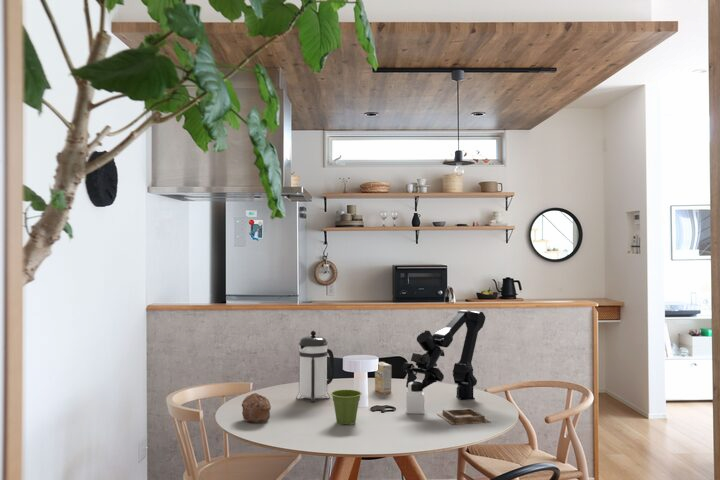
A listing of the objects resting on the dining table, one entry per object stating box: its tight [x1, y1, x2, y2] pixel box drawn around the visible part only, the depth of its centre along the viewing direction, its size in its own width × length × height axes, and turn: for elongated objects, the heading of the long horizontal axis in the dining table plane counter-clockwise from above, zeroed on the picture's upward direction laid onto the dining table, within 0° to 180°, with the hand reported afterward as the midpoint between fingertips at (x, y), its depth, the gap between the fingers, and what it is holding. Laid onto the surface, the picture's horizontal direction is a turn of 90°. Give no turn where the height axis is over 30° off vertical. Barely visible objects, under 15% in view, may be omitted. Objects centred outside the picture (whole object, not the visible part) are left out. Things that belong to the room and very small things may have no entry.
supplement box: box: [374, 361, 392, 395], centre depth 293 cm, size 8×5×13 cm, turn 25°
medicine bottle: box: [405, 380, 425, 415], centre depth 257 cm, size 7×7×12 cm
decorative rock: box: [241, 392, 272, 424], centre depth 244 cm, size 13×11×10 cm
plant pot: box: [330, 389, 363, 425], centre depth 241 cm, size 12×12×11 cm
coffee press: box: [295, 330, 335, 404], centre depth 280 cm, size 17×16×30 cm
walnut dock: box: [436, 407, 492, 426], centre depth 247 cm, size 16×16×3 cm
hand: (413, 388), depth 256 cm, fingers open, 7 cm apart
